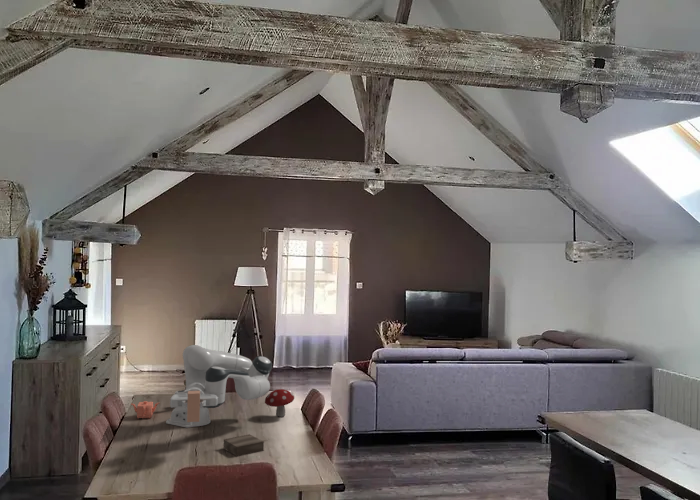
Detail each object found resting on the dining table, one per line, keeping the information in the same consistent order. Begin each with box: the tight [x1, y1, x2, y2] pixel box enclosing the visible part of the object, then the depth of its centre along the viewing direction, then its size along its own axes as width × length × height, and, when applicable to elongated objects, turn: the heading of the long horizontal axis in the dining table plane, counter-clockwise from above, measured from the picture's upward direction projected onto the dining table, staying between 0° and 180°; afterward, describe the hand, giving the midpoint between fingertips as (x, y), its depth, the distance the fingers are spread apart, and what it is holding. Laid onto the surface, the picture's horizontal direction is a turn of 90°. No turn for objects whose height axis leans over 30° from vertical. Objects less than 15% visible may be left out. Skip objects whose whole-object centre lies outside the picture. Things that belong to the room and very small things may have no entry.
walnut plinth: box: [223, 433, 265, 457], centre depth 267 cm, size 13×13×4 cm
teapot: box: [130, 400, 160, 419], centre depth 316 cm, size 12×15×8 cm
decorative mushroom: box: [264, 388, 295, 417], centre depth 320 cm, size 16×16×15 cm
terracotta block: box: [187, 391, 200, 422], centre depth 257 cm, size 5×5×12 cm
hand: (193, 405), depth 256 cm, fingers closed on terracotta block, 5 cm apart
